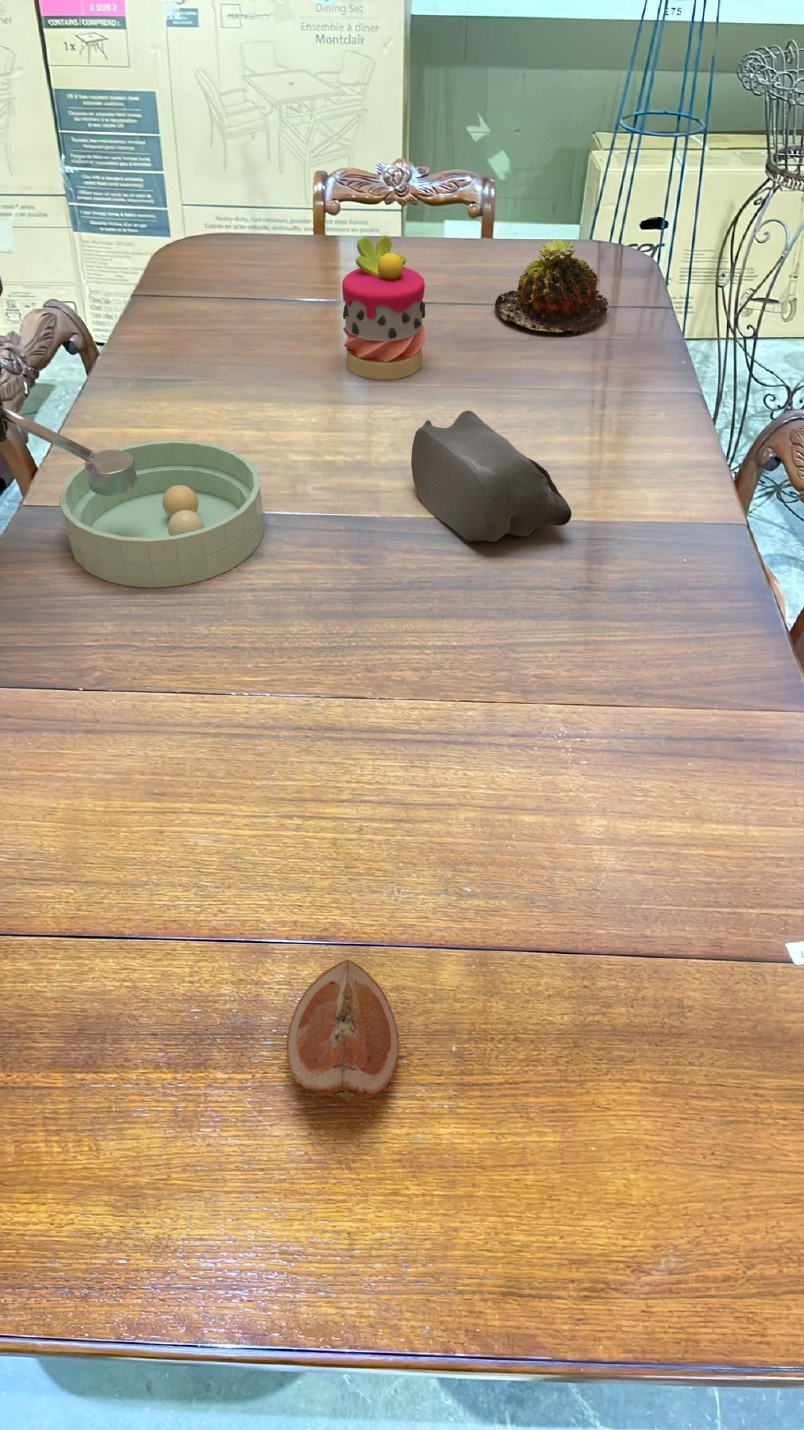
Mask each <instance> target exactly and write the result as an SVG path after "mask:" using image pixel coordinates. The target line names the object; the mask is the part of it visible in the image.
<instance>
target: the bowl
mask: <svg viewBox="0 0 804 1430" xmlns="http://www.w3.org/2000/svg"><path fill="white" fill-rule="evenodd" d="M115 450H121V451H125V452H128V453H129V454H131V455H132V457H133V459H134V464H135V469H136V475H137V484H136V486H135V487H134V488H133V489H132V490H130V491H128V492H126V493H123V494H119V495H113V496H105V495H99V494H96V493H94V492H93V491H91V489H90V488H89V484H88V479H87V475H86V470H85V466H84V464H85V463H83V464H82V465H81V466H79V467H78V468H77V469H76V470H75V471H73V472H72V473H71V474H70V475H69V476H68V477H67V479H66V481H65V482H64V484H63V485H62V486H61V488H60V492H59V493H60V494H59V501H58V503H59V507H60V512H61V516H62V520H63V524H64V528H65V533H66V536H67V541H68V545H69V549H70V551H71V553H72V556H73V558H74V561H75V562H76V563H77V564H78V565H79V566H81V567H82V568H83V570H85V571H86V572H87V573H88V574H90V575H92V576H94V577H97V578H99V579H101V580H102V581H104V582H108V583H113V584H115V585H116V584H117V585H120V586H126V587H134V588H149V589H150V588H151V589H158V588H159V589H160V588H168V587H169V588H171V587H181V586H185V585H190V584H191V585H192V584H194V583H199V582H203V581H206V580H209V579H212V578H214V577H217V576H220V575H221V574H224V573H226V572H229V571H231V570H232V569H234V568H235V567H237V566H239V564H241V563H243V562H245V560H248V558H249V557H250V556H251V555H252V554H253V553H254V552H255V551H256V549H257V548H258V547H259V546H260V544H261V541H262V538H263V536H264V533H265V523H264V512H263V510H264V509H263V501H262V492H261V491H262V490H261V483H260V482H261V481H260V476H259V472H258V471H257V469H256V468H255V466H254V465H253V464H252V462H251V461H250V460H249V459H247V458H246V457H244V456H243V455H241V454H240V453H239V452H237V451H235V450H232V449H230V448H227V447H224V446H221V445H218V444H214V443H208V442H204V441H199V440H178V439H169V440H156V441H146V442H141V443H137V444H131V445H126V446H121V447H119V448H117V449H115ZM176 485H184V486H187V487H189V488H191V489H192V490H193V491H194V492H195V494H196V495H197V498H198V503H199V504H198V510H197V512H196V514H198V515H199V516H200V517H201V518H202V520H203V522H204V525H205V528H203V529H200V530H196V531H192V532H188V533H183V534H179V535H175V536H169V533H168V523H169V520H170V519H171V518H170V517H169V516H168V515H167V514H166V513H165V511H164V508H163V504H162V501H163V496H164V494H165V492H166V491H167V490H168V489H169V488H171V487H173V486H176Z"/></svg>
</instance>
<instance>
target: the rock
mask: <svg viewBox="0 0 804 1430" xmlns="http://www.w3.org/2000/svg"><path fill="white" fill-rule="evenodd" d="M411 446H412V447H411V459H410V460H411V461H410V466H411V474H412V481H413V484H414V488H415V490H416V493H417V495H418V497H419V499H420V501H421V503H422V504H423V506H424V507H425V508H426V509H427V510H428V511H429V513H431V514H432V515H433V516H434V517H436V518H437V519H438V520H440V521H441V522H443V523H444V524H445V525H446V526H448V527H449V528H450V529H452V530H454V532H455V533H457V535H459V536H460V537H461V538H462V539H464V540H465V541H466V542H475V541H477V542H478V541H480V542H481V541H483V542H484V541H487V542H498V541H499V540H500V539H501V538H502V537H504V536H505V535H506V534H509V535H513V536H518V537H526V536H527V537H528V536H530V535H531V534H532V533H533V532H534V531H535V530H537V529H539V528H542V527H546V526H555V527H563V526H565V525H567V524H568V523H569V522H570V520H571V519H572V510H571V507H570V505H569V503H568V502H567V500H566V499H565V498H564V496H563V495H562V494H561V492H559V490H558V488H557V486H556V485H555V482H553V480H552V478H551V475H550V473H549V472H548V471H547V469H545V468H544V467H543V466H541V465H540V464H539V463H537V461H535V460H533V459H531V458H530V457H528V456H526V455H525V454H523V453H522V452H520V451H518V449H517V448H516V447H514V445H513V444H512V443H511V442H510V441H509V440H508V439H507V438H505V437H504V436H502V435H500V434H499V433H497V431H495V430H494V429H493V428H491V426H489V425H488V424H487V423H486V422H484V421H483V420H482V419H481V418H480V417H479V416H478V414H476V413H475V412H474V411H472V410H464V411H463V412H461V413H459V415H458V416H457V417H456V418H455V420H454V422H453V423H452V424H451V425H449V427H440V426H434V425H433V424H432V421H431V420H429V419H428V420H427V419H426V420H425V422H424V423H423V425H421V426H420V427H419V428H418V429H417V430H416V431H415V434H414V437H413V440H412V445H411Z"/></svg>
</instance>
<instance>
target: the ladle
mask: <svg viewBox="0 0 804 1430" xmlns="http://www.w3.org/2000/svg"><path fill="white" fill-rule="evenodd" d="M0 410H1V414H2V417H3V420H5V421H7V422H8V424H11V425H13V426H14V427H17V428H19V429H21V430H23V431H25V432H27V433H29V434H31V435H33V436H35V437H36V438H37V437H38V438H39V439H41V440H43V441H45V442H48V443H50V444H52V445H53V446H55V447H57V448H59V449H61V450H63V451H64V452H65V451H66V452H67V453H70V454H71V455H73V456H75V457H78V458H79V459H81V460H83V461H84V463H83V464H84V466H85V470H86V475H87V479H88V484H89V488H90V489H91V491H93V492H94V493H96V494H99V495H105V496H113V495H119V494H123V493H126V492H128V491H130V490H132V489H133V488H134V487H135V486H136V484H137V475H136V469H135V464H134V459H133V457H132V455H131V454H129V453H128V452H125V451H121V450H116V449H107V450H106V449H105V450H102V451H97V452H94V451H93V450H92V449H90V448H87V447H86V446H83V445H82V444H80V443H77V442H76V441H74V440H72V439H70V438H67V437H66V436H64V435H61V434H60V433H58V432H56V431H53V430H52V429H50V428H48V427H46V426H44V425H42V424H40V423H38V422H36V421H34V420H32V419H30V418H28V417H26V416H24V415H22V414H20V413H18V412H16V411H14V410H12V409H10V408H8V407H6V406H4V405H3V406H2V405H0Z"/></svg>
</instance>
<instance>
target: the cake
mask: <svg viewBox="0 0 804 1430" xmlns="http://www.w3.org/2000/svg"><path fill="white" fill-rule="evenodd" d="M392 245H393V243H392V240H391V238H390V237H389V236H388V235H386V234H382V235H380V236H379V237H378V239H377V242H376V246H375V245H374V243H373V242H372V241H371V239H370V238H369V237H365V236H364V237H360V238H359V239H358V240H357V242H356V248H357V251H358V253H359V256H357V257H356V259H355V264H356V265H357V267H358V268H356V269H354V270H351V271H350V272H348V273H347V274H346V275H344V278H343V279H342V282H341V287H342V288H341V291H342V300H343V302H344V306H343V311H342V318H343V320H345V321H344V322H345V323H344V324H345V326H344V327H343V328H342V330H343V332H344V333H345V335H346V336H347V338H346V340H345V342H344V344H343V347H345V348H346V349H345V351H346V352H345V353H346V367H347V369H348V370H349V372H351V373H353V375H356V376H358V377H362V378H365V379H371V380H378V381H386V380H387V381H389V380H390V381H391V380H398V379H404V378H407V377H410V376H412V375H414V374H415V373H417V372H418V371H419V370H420V369H421V368H422V366H423V365H422V361H423V360H422V359H423V358H422V357H423V356H422V355H423V346H424V344H425V342H426V331H425V328H424V325H423V319H425V317H426V303H425V302H424V301H423V300H424V296H425V289H426V287H425V286H426V285H425V284H426V283H425V280H424V278H423V276H422V275H421V274H420V273H418V272H417V271H415V270H413V269H411V268H409V267H405V265H406V263H407V258H406V257H405V256H404V255H402V254H397V253H394V252H391V250H392ZM375 248H376V249H375Z"/></svg>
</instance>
